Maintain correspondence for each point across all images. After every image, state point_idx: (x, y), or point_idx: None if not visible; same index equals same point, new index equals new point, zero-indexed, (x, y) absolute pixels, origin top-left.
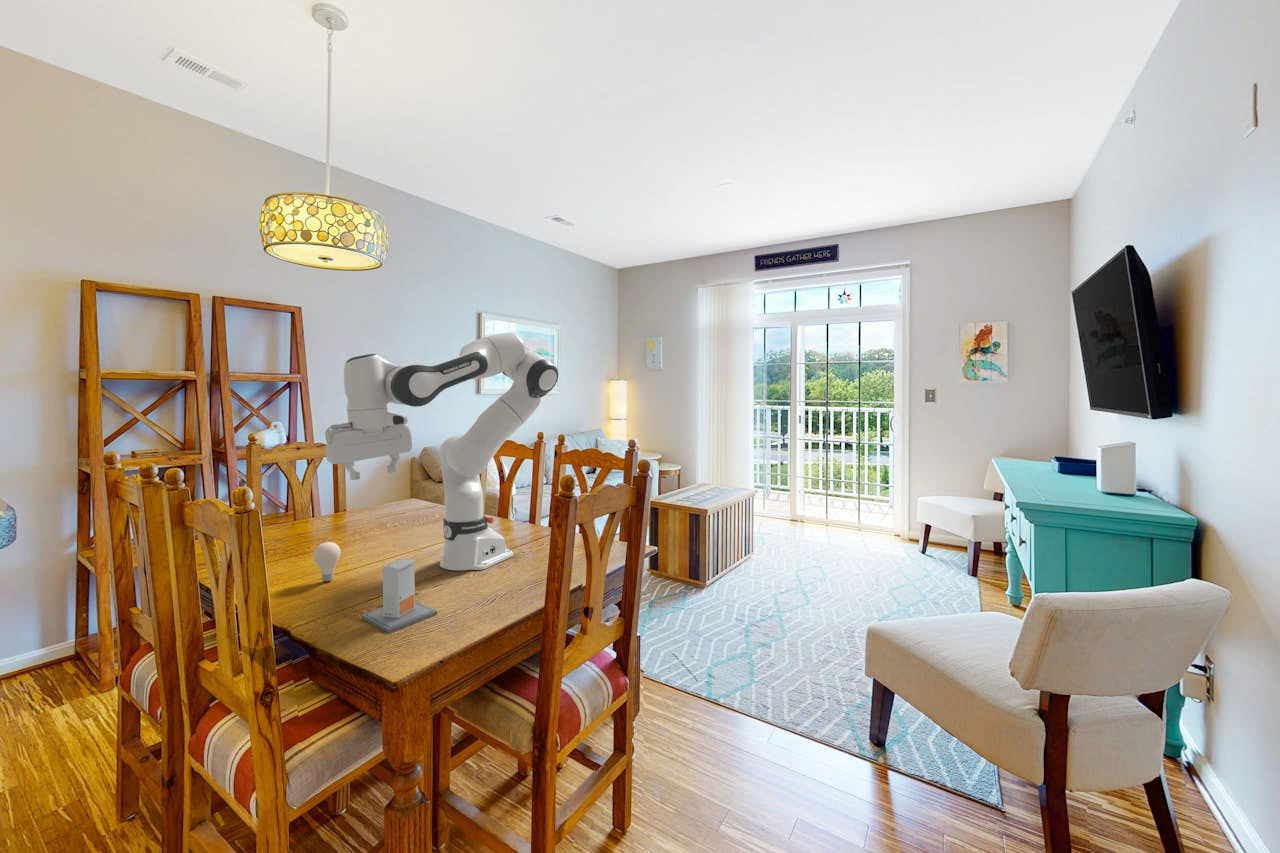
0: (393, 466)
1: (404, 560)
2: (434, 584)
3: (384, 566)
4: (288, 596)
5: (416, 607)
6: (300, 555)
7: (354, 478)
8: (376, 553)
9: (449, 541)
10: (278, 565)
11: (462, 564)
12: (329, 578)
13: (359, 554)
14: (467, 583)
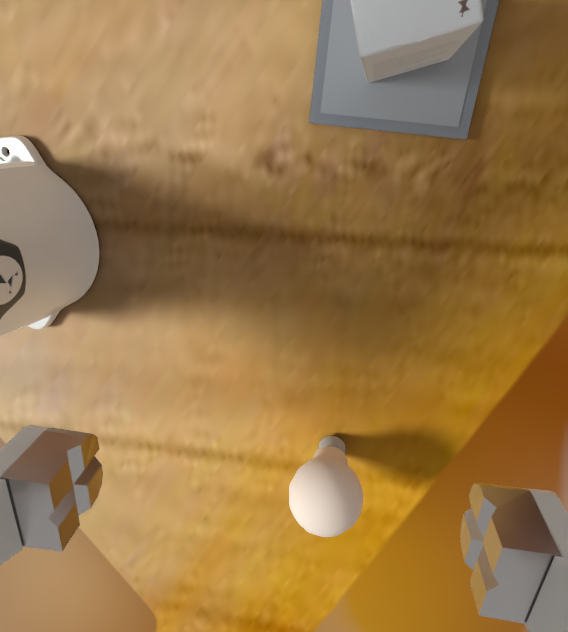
0: (17, 470)
1: (370, 13)
2: (185, 174)
3: (477, 16)
4: (446, 440)
5: (347, 28)
6: (264, 620)
7: (554, 499)
8: (149, 496)
9: (26, 262)
10: (329, 609)
11: (57, 194)
12: (335, 438)
13: (178, 523)
14: (118, 85)
